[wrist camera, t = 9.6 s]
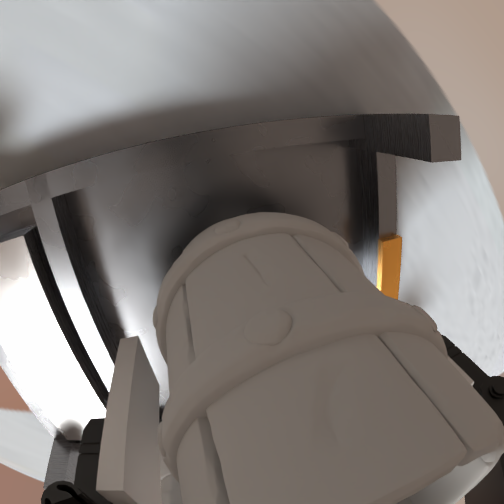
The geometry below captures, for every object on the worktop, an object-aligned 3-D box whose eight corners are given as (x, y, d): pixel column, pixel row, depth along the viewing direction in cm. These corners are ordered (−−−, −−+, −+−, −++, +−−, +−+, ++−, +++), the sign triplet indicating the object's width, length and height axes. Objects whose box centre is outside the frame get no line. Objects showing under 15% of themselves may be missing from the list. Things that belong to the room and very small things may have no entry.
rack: (-41, 208, 11) (-115, 249, 5) (368, 114, 13) (460, 116, 8) (70, 430, 17) (57, 500, 11) (366, 371, 20) (411, 432, 14)
